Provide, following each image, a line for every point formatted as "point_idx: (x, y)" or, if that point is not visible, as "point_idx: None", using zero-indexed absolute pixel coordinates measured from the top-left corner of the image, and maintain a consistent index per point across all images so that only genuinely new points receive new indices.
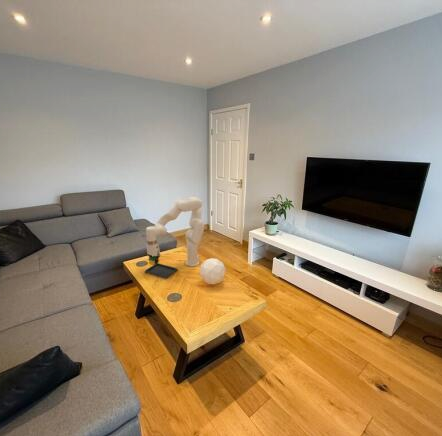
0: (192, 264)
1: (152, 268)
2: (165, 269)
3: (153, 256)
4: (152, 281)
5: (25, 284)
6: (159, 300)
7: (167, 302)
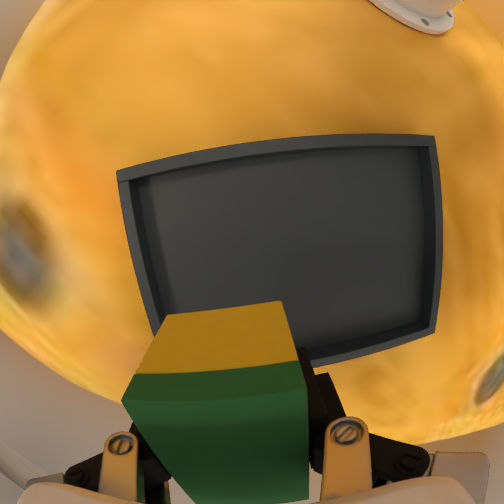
0: (438, 17)
1: (161, 277)
2: (315, 199)
3: (182, 453)
4: (343, 402)
5: None
6: (452, 428)
7: (479, 410)
